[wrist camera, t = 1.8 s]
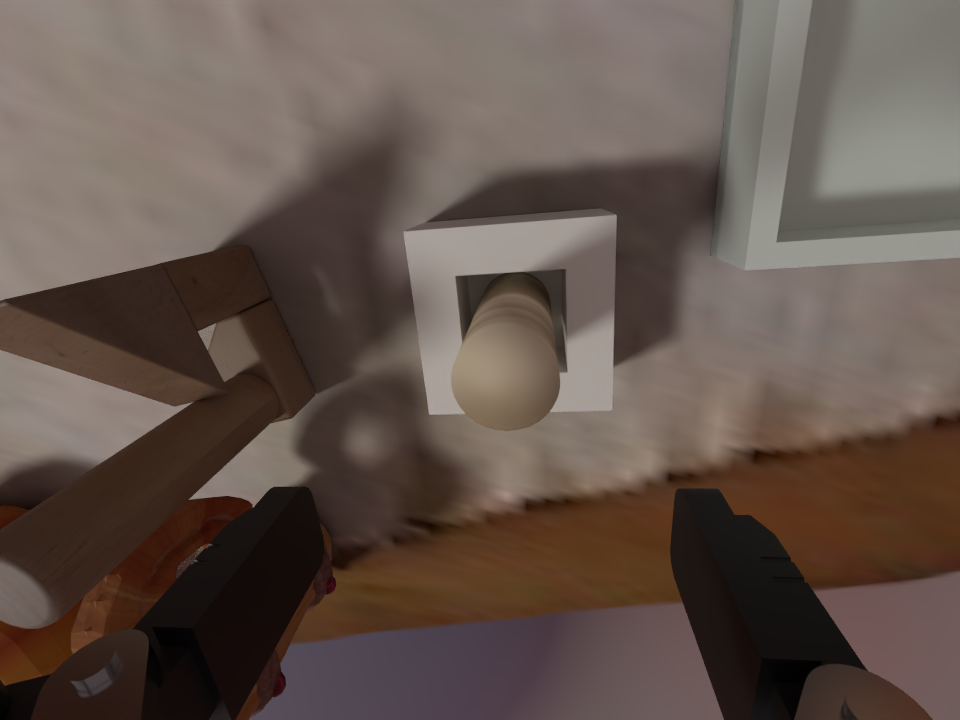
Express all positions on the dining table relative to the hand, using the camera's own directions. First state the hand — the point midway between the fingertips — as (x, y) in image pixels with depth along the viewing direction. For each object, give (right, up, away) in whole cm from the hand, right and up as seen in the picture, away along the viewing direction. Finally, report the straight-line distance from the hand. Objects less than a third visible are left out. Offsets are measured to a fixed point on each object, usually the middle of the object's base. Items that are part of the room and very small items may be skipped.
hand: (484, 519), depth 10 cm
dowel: (+2, +7, +17) cm, 18 cm away
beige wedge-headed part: (-15, +6, +21) cm, 26 cm away
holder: (+2, +7, +18) cm, 19 cm away
